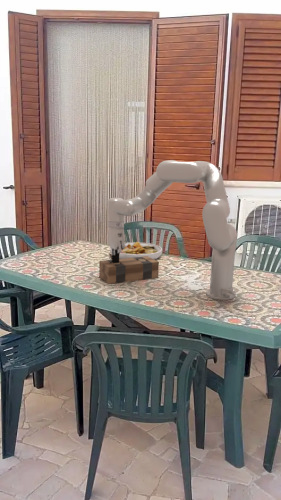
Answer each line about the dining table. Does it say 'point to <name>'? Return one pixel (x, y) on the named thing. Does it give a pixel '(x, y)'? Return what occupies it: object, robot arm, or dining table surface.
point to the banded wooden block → (128, 270)
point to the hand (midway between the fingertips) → (115, 262)
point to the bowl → (140, 250)
